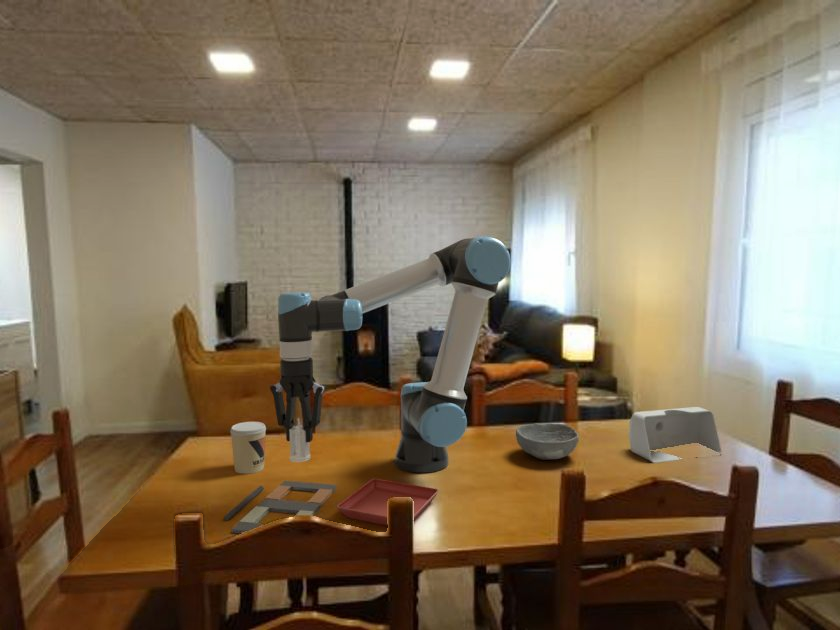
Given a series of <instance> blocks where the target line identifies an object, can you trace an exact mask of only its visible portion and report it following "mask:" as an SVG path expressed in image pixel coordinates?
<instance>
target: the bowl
mask: <svg viewBox="0 0 840 630" xmlns="http://www.w3.org/2000/svg"><path fill="white" fill-rule="evenodd" d="M515 438H516V442H517V444H518V446H520V448H521V449H522V451H524V452H526V453H527V454H529V455H530V456H533V457H535V458H536V459H540V460H542V461H545V460H546V461H549V460H560V459H562V458H563V459H564V458H566V457H567V456H569V455H570V454H572V453H573V452H574V451H575V449H576V447H577V444H578V442H579V440H580V437H579V433H578V431H577V430H575V429H574V428H572V426H569V425H567V424H564V423H551V422H550V423H537V422H536V423H530V424H526V425H521V426H519V427H518V428H516V429H515Z"/></svg>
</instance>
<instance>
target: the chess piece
mask: <svg viewBox="0 0 840 630" xmlns="http://www.w3.org/2000/svg"><path fill="white" fill-rule="evenodd" d="M296 422H297V424H296V425H294V426H295V429H296V432H297V434H296V435H295V437H296V438H297V449H296V452H295V455H294V456H290V455H289V461H290V462H293V463H304V462H307V461H309V460H310V459H311V453H309V454H308V455H307V456H306V457H302V432H301V430H302V429H303V428H304V424H303V425H302V424H301V423H302V422H301V419H300V417H297V419H296Z"/></svg>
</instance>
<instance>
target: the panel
mask: <svg viewBox="0 0 840 630" xmlns="http://www.w3.org/2000/svg"><path fill="white" fill-rule="evenodd" d="M335 490H337V484H332V483H331V484H330V483H329V484H328V483H318V482H315V483H314V482H307V481H306V482H305V481H292V480H291V481H290V480H283V482H282V483H280V484H279V485H278V486H276V488H274V490H272V491H271V492H270V493H269V494H268V495H267V496H265V498H264V499H263V500H262V501H261V502H259V503H258V504H257V505H256V506H255V507H253V508H252V509H251V510H250V511H249V512H248V513H247V514H246V515H245V516H244V517H243V518H242V519H240V520H239V521H238V522H237V524H236V525H234V526H233V527H232V528H231V534H240V533H242V532H245V531H249V530H252V529H254V528H257V527H259V526H261V525H264V524H265V523H264V524H263V523H259V522H260V521H261V520H262V519H263V518H264V517H265V516H267V514H268V513H270V512H274V513H287V514H295V516H296V515H314V516H315V515H316V514H317V512H319V510H320V509H321V507H323V505H324V504H325V503H326V501H328V499H329V498H330V497H331V496H332V494H333V493H334V492H335ZM291 491H301V492H312V493H314V494H313V495H312V497H311V498H310V499H309V500H308V501H300V500H299V501H298V500H287V499H284V498H285V497H286V495H288V494H289V493H290V492H291ZM295 516H294V517H295Z"/></svg>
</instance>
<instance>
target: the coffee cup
mask: <svg viewBox="0 0 840 630" xmlns="http://www.w3.org/2000/svg"><path fill="white" fill-rule="evenodd" d="M266 430H267V427H266V425H265V423H264V422H261V421H243V422H238V423H236V424H234V425H232V426H231V429H230V430H229V431H230V437H231V438H230V439H231V446H232V448H231V449H232V455H233V456H232V458H233V465H234V467H233V468H234V471H235V472H236V473H238V474H243V475H246V474H247V475H248V474H249V475H250V474H255V473H258V472H261V471H263V470H264V468H265V459H266V458H265V457H266V456H265V454H266V451H265V450H266Z"/></svg>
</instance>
